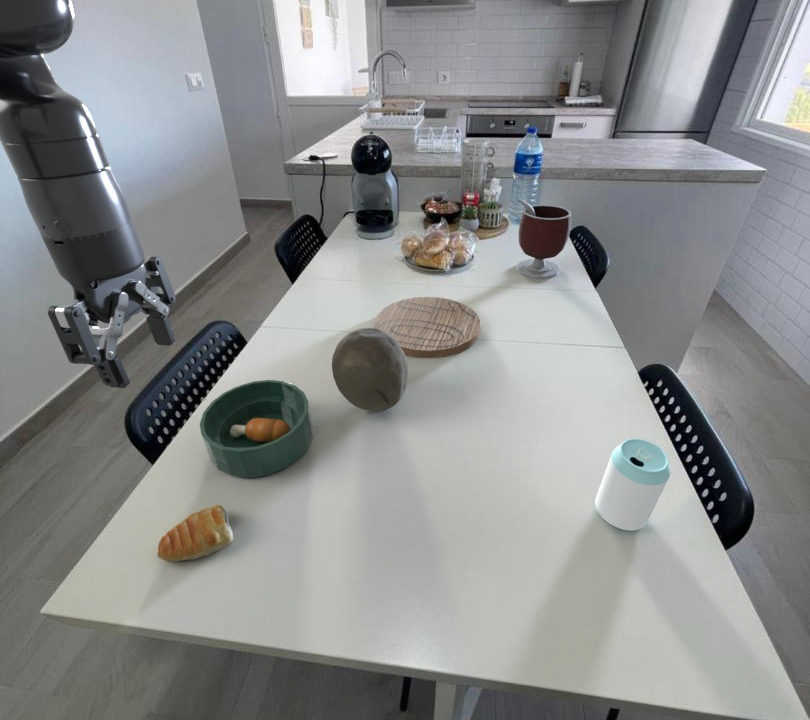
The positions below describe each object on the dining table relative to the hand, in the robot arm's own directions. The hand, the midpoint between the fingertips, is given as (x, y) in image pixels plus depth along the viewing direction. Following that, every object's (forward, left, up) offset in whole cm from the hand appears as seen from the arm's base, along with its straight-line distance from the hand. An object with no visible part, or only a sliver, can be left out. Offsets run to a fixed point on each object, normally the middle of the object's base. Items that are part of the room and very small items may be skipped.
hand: (144, 363), depth 51 cm
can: (+42, -44, -27) cm, 66 cm away
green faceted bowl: (+13, +6, -26) cm, 30 cm away
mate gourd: (+107, +11, -27) cm, 111 cm away
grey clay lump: (+33, 0, -27) cm, 42 cm away
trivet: (+60, +11, -27) cm, 67 cm away
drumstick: (+13, +6, -26) cm, 30 cm away
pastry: (-3, -5, -27) cm, 27 cm away
